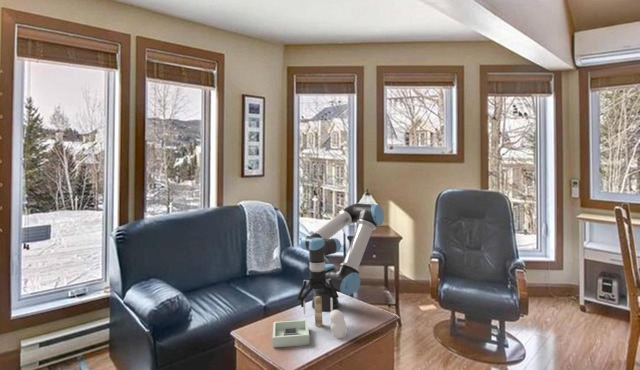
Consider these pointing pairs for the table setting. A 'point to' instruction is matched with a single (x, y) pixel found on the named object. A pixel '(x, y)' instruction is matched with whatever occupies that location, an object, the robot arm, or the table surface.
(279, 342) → the green square socket tray
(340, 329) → the figurine
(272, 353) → the table surface
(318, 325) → the beige wooden dowel
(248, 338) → the table surface
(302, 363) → the table surface
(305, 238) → the robot arm
